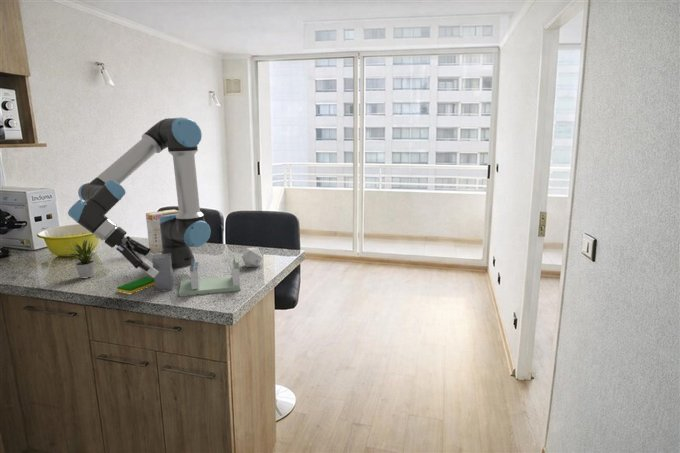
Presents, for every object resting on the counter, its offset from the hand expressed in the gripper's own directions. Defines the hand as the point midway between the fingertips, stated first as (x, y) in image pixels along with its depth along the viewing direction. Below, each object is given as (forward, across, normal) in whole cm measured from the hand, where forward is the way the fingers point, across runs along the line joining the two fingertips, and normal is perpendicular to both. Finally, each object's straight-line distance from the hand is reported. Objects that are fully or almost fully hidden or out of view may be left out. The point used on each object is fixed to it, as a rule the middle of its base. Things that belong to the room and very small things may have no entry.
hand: (158, 269), depth 169 cm
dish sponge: (0, -5, -12) cm, 13 cm away
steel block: (+7, -1, -4) cm, 8 cm away
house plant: (-17, -26, -29) cm, 43 cm away
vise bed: (+19, +3, +8) cm, 20 cm away
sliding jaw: (+14, +3, +5) cm, 15 cm away
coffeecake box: (+2, -66, -9) cm, 66 cm away
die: (+31, -21, +20) cm, 43 cm away
